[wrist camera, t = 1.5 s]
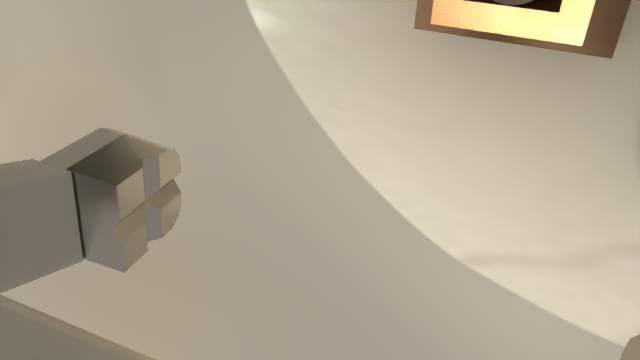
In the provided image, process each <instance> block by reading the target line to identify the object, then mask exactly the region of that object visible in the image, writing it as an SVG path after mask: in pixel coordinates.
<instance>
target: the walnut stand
mask: <svg viewBox="0 0 640 360" xmlns="http://www.w3.org/2000/svg"><path fill="white" fill-rule="evenodd" d="M493 1H495V2H498V3H501V4H505V5H520V4H525V3H528V2H530V1H533V0H493ZM433 2H434V0H418V3H417V11H416V19H415V26H414V28H415V29H421V30H428V31H434V32H441V33H448V34H454V35H461V36H467V37H474V38H480V39H487V40H493V41H500V42H507V43H513V44H520V45H526V46H533V47H539V48H546V49H552V50H559V51H566V52H572V53H579V54H585V55H592V56H598V57H605V58H612V56H613V53H614V50H615V47H616V44H617V41H618V38H619V35H620V32H621V29H622V26H623V23H624V20H625V17H626V14H627V11H628V8H629V5H630V2H631V0H596V1H595V4H594V7H593V11H592V14H591V18H590V21H589V24H588V28H587V31H586V35H585V38H584V41H583V45H582V46H577V45H570V44H564V43H557V42H550V41H543V40H537V39H530V38H523V37H517V36H510V35H503V34H496V33H490V32H483V31H476V30H469V29H463V28H456V27H449V26H442V25H436V24H430V23H431V16H432V9H433Z"/></svg>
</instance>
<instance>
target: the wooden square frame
mask: <svg viewBox="0 0 640 360" xmlns="http://www.w3.org/2000/svg"><path fill="white" fill-rule="evenodd" d="M595 1H596V0H533V1H530V2H528V3H525V4H520V5H505V4H501V3H498V2H495V1H493V0H434V2H433V9H432V16H431V23H430V24H436V25H442V26H449V27H456V28H463V29H469V30H476V31H483V32H490V33H496V34H503V35H510V36H517V37H523V38H530V39H537V40H543V41H550V42H557V43H564V44H570V45H577V46H582V45H583V41H584V38H585V35H586V31H587V28H588V24H589V21H590V18H591V14H592V11H593V7H594V4H595Z"/></svg>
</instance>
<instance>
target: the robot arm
mask: <svg viewBox="0 0 640 360" xmlns="http://www.w3.org/2000/svg"><path fill="white" fill-rule="evenodd" d="M180 172H181V166H180V156H179V154H178V153H177V152H176V151H175V150H174V149H171V148H168V147H165V146H162V145H159V144H156V143H153V142H150V141H147V140H144V139H141V138H138V137H135V136H132V135H128V134H126V133H123V132H119V131H116V130H113V129H109V128H99V129H97V130H95V131H94V132H92V133H90V134H88V135H87V136H85V137H83V138H81V139H79V140H77V141H76V142H74V143H72V144H70V145H68V146H67V147H65V148H63V149H61V150H59V151H57V152H56V153H54V154H52V155H50V156H48V157H47V158H45V159H43V160H41V161H37V160H34V159H30V160H23V161H17V162H11V163H5V164H0V293H3V292H5V291H8V290H10V289H13V288H15V287H18V286H20V285H23V284H26V283H28V282H31V281H33V280H36V279H38V278H41V277H43V276H46V275H48V274H51V273H53V272H56V271H59V270H61V269H64V268H66V267H69V266H71V265H74V264H77V263H79V262H82V261H83V259H86V260H90V261H92V262H95V263H98V264H101V265H104V266H107V267H110V268H112V269H115V270H118V271H121V272H126V271H127V270H128V269H129V268H130V267H131V266H132V265H133V264H134V263H135V262H137V261H138V260H139V259H140V258H141V257H142V256H143V255H144V254H145V253H146V252H147V251H148V242H149V241H152V240H156V239H159V238H162V237H164V236H165V235H166V234H167V233H168V231H170V230H171V229H172V227H173V225H174V223H175V221H176V219H177V217H178V215H179V211H180V207H181V191H180V189H179V188H178V186H177V184H176V182H175V181H174V179H175V178H176V177H177V175H178V174H179V173H180ZM0 360H156V359H154V358H151V357H149V356H146V355H144V354H141V353H139V352H137V351H134V350H132V349H129V348H127V347H124V346H122V345H120V344H118V343H115V342H113V341H110V340H108V339H105V338H103V337H101V336H98V335H96V334H94V333H91V332H89V331H86V330H84V329H81V328H79V327H77V326H74V325H72V324H69V323H67V322H65V321H62V320H60V319H58V318H55V317H53V316H50V315H48V314H46V313H43V312H41V311H38V310H36V309H33V308H31V307H29V306H26V305H24V304H22V303H19V302H17V301H14V300H12V299H10V298H7V297H5V296H2V295H0ZM620 360H640V335H638V336H635V337H633V338H630V340H629V341H628V343H627V345H626V347H625V349H624V351H623V353H622V355H621V358H620Z"/></svg>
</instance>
